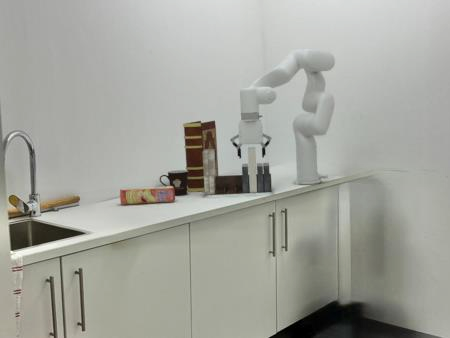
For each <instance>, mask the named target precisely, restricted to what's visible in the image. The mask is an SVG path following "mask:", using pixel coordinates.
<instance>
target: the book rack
mask: <svg viewBox="0 0 450 338" xmlns="http://www.w3.org/2000/svg"><path fill="white" fill-rule="evenodd" d="M203 169H204V187H205V190H204V197H205V196H224V195H225V196H226V195H244V194H251V193H250V184H249V163H242V164H241V174H231V175H230V174H229V175H218V176H216V171H215V153H214V149H205V150H204V151H203ZM256 176H257V193H256V194H265V193H266V194H268V193H269V194H270V193H273V189H272V173H270V163H269V162H256Z"/></svg>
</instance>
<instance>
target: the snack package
mask: <svg viewBox="0 0 450 338" xmlns="http://www.w3.org/2000/svg"><path fill="white" fill-rule="evenodd" d="M119 197H120V198H119V199H120V205H122V206H126V205H139V204H156V203H174V202H175V199H176V196H175V191H174V187H173V186H170V185H167V186H164V185H163V186H140V187H139V186H137V187H121V188H120V189H119Z"/></svg>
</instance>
